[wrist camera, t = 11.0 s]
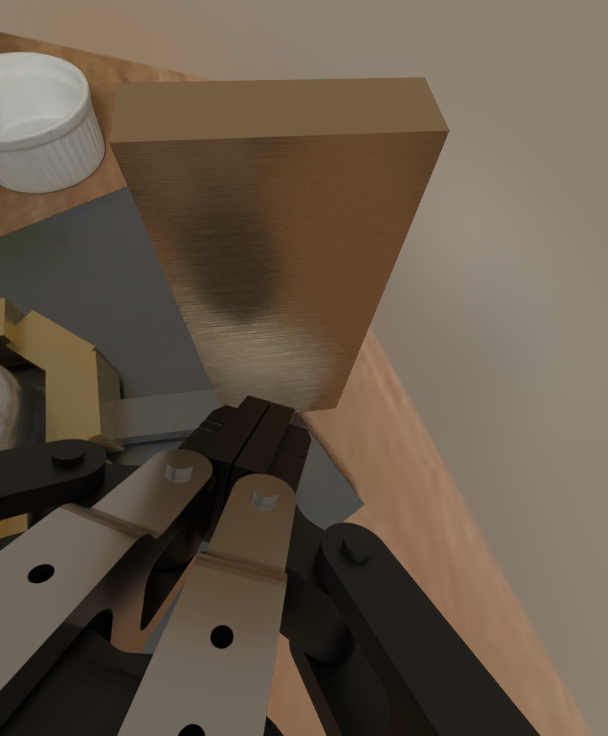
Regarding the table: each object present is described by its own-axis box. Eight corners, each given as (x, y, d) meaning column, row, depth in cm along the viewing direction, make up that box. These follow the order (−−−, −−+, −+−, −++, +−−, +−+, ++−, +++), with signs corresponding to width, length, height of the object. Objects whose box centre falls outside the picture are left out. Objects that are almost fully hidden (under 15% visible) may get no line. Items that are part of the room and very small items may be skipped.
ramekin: (122, 119, 29) (97, 52, 25) (104, 202, 25) (72, 140, 21) (-1, 116, 28) (-46, 48, 25) (-38, 202, 25) (-98, 137, 21)
